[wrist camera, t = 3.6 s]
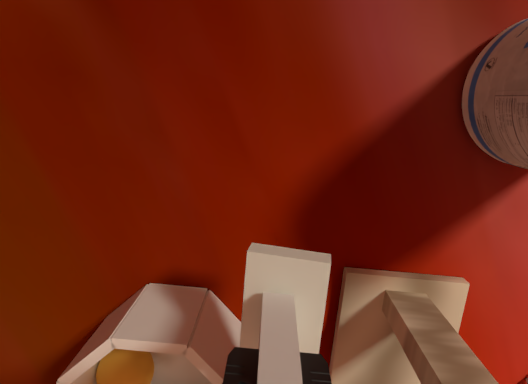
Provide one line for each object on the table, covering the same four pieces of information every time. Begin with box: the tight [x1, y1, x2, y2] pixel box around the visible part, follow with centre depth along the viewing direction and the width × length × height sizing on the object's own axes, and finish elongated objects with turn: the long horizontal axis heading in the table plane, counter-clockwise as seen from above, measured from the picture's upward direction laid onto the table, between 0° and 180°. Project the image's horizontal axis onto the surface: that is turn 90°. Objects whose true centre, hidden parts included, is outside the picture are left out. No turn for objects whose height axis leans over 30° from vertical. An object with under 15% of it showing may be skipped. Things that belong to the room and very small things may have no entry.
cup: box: [56, 283, 241, 384], centre depth 27 cm, size 11×11×7 cm
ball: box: [96, 349, 154, 384], centre depth 27 cm, size 4×4×4 cm
